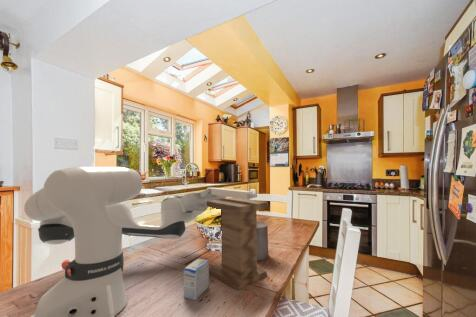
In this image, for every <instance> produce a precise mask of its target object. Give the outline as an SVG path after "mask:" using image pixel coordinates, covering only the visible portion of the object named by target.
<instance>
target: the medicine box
mask: <svg viewBox="0 0 476 317" xmlns="http://www.w3.org/2000/svg"><path fill="white" fill-rule="evenodd" d="M209 268H210V260H207V259H203V258H197V259H195V260H193V261H192V262H191V263H190V264H188V265H187V266H185V267H184V269H183V297H184V298H186V299H188V300H191V301H192V300H193V301H197V300H198V299H199V298H200V297H201V295H202V294H203V293H204V292H205V291H206V290H207V289H208V288H209V287H210V273H209Z"/></svg>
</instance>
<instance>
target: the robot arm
mask: <svg viewBox="0 0 476 317" xmlns="http://www.w3.org/2000/svg"><path fill="white" fill-rule="evenodd" d="M142 187H143V179H142V177H141V174H140V173H139V172H138V171H137V170H136V169H133V168H130V167H129V168H128V167H124V166H74V167H73V166H72V167H66V168H62V169H57V170H54V171H53V172H51V173H50V174H49V175H48V176H47V178H46V180H45V182H44V183H43V188H41V189H39V190H37V191H35V192H33V194H31V196H29V197H28V198H27V200H26V202H25V203H24V206H23V207H24V213H25V215H26V216H27V217H28V218H30V219H31V220H33V221H37V222H40V223H39V228H37V231H38V236H39V240H40V241H41V242H42V243H45V244H49V245H62V244H64V243H67V242H70V241H72V240H73V239H74V259H73V260H72V261H70V260H69V259H65V260H64V261H62V262H61V268H62V270H63V271H64V277H63V278H61V279H60V281H58V282H57V283H56V284H55V285H54V286H52V287H51V288H50V289H48V290H47V291H46V292H45V293H44V294H43V295H41V297H40V298H39V301H38V303H37V305H36V308H35V311H34V314H32V315H30V316H29V317H116V316H117V314H119V313H120V312H121V311H122V310H123V309H124V308H125V307H126V305H127V304H128V297H127V294H126V289H125V286H124V285H125V284H124V278H123V271H124V265H125V264H124V263H125V257H124V251H123V250H122V249H123V248H122V247H123V246H122V245H123V240H122V239H123V238H122V237H123V235H124V236H133V237H135V236H136V237H146V238H161V239H166V240H177V239H180V238H181V237H182V236H183V235H184V233H185V231H186V224H188V223H191V222H192V221H194V220H195V219H196V218H197V217H198V216H201V215H202V214H203V213H204V212H205V211H207V210H208V208H209V207H207V201H211V200H218V199H226V198H227V197H226V196H219V195H212V194H210V193H211V190H210V189H208V188H206V189H205V190H202V191H198V192H197V191H196V192H188V193H185V194H184V195H182V196H180V195H175V194H173V195H170V196H167V197H166V198H164V199H163V200H162V201H161V202H160V222H161V223H160V225H152V224H150V225H149V224H140V223H138V222H136V220H135V218H134V217H133V214H132V210H131V209H130V207H129V205H128V204H127V203H126V202H127V201H130V200H132V199H135V198H136V197H137V196H139V194H140V193H141V191H142Z"/></svg>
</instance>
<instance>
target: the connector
mask: <svg viewBox="0 0 476 317" xmlns="http://www.w3.org/2000/svg"><path fill="white" fill-rule="evenodd" d="M207 189H210V190H211V193H210V194H212V195H219V196H226V198H227V197H228V198H241V199H250V200H252V199H254V198H258V193H254V191H253V190H243V189H236V188H235V189H234V188H222V187H207Z"/></svg>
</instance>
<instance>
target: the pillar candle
mask: <svg viewBox="0 0 476 317" xmlns="http://www.w3.org/2000/svg"><path fill="white" fill-rule="evenodd" d="M268 232H269V230H268V224H267V223H266V222H261V221H257V261H265V260H267V259H268V258H269V234H268Z"/></svg>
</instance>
